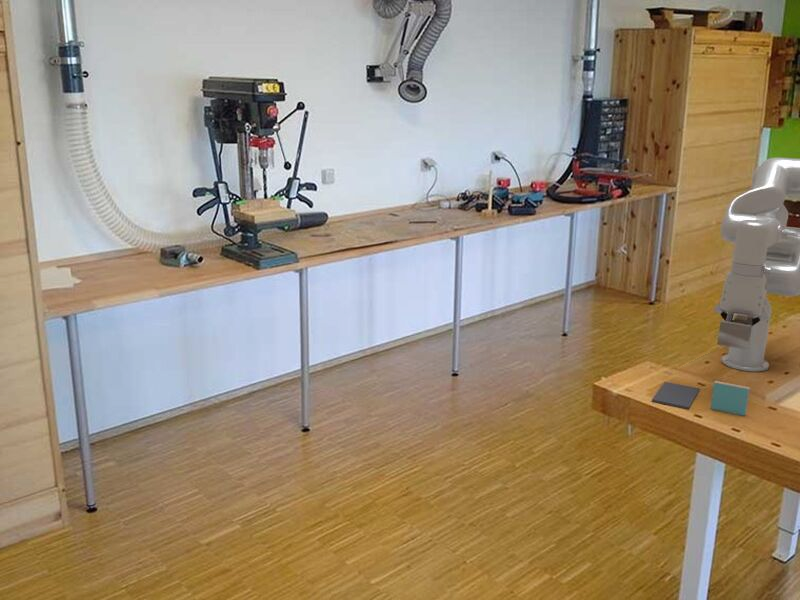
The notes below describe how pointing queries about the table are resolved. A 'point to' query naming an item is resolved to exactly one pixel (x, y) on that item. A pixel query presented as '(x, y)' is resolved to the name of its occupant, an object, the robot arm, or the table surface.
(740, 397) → the tile
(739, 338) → the scraper
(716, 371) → the table surface
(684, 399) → the mat
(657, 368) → the table surface
